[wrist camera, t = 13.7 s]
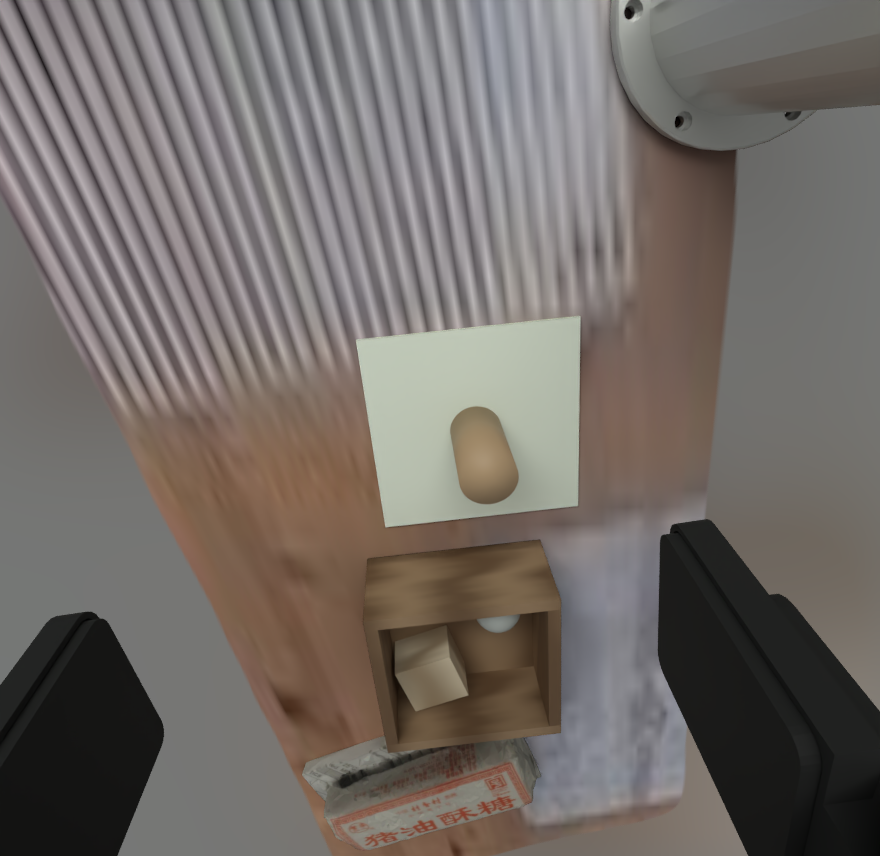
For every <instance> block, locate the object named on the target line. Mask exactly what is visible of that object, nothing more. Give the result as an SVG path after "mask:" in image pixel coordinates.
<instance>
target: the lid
mask: <svg viewBox="0 0 880 856" xmlns="http://www.w3.org/2000/svg"><path fill="white" fill-rule="evenodd" d="M356 344H357V350H358V357H359V363H360V369H361V376H362V382H363V388H364V395H365V401H366V407H367V414H368V420H369V426H370V433H371V439H372V445H373V451H374V458H375V464H376V470H377V477H378V483H379V489H380V496H381V502H382V508H383V515H384V521H385V527H393V526H402V525H411V524H420V523H429V522H438V521H447V520H456V519H465V518H474V517H483V516H492V515H501V514H510V513H519V512H528V511H537V510H546V509H555V508H564V507H573V506H578V467H579V389H580V316H573V317H564V318H555V319H545V320H536V321H526V322H517V323H508V324H498V325H489V326H479V327H470V328H461V329H451V330H442V331H433V332H423V333H414V334H404V335H395V336H386V337H376V338H367V339H357V340H356Z"/></svg>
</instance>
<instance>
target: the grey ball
mask: <svg viewBox="0 0 880 856" xmlns="http://www.w3.org/2000/svg"><path fill="white" fill-rule="evenodd" d="M519 617H520V614H517V615H509V616H500V617H491V618H482V619H477V621H478V623H479V624H480V625H481V626H482V627H483V628H484V629H486V630H488V631H490V632H494V633H502V632H506V631H508V630H510V629H511V628H513V627H514V626H515V624H516V623H517V622H518V620H519Z"/></svg>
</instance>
